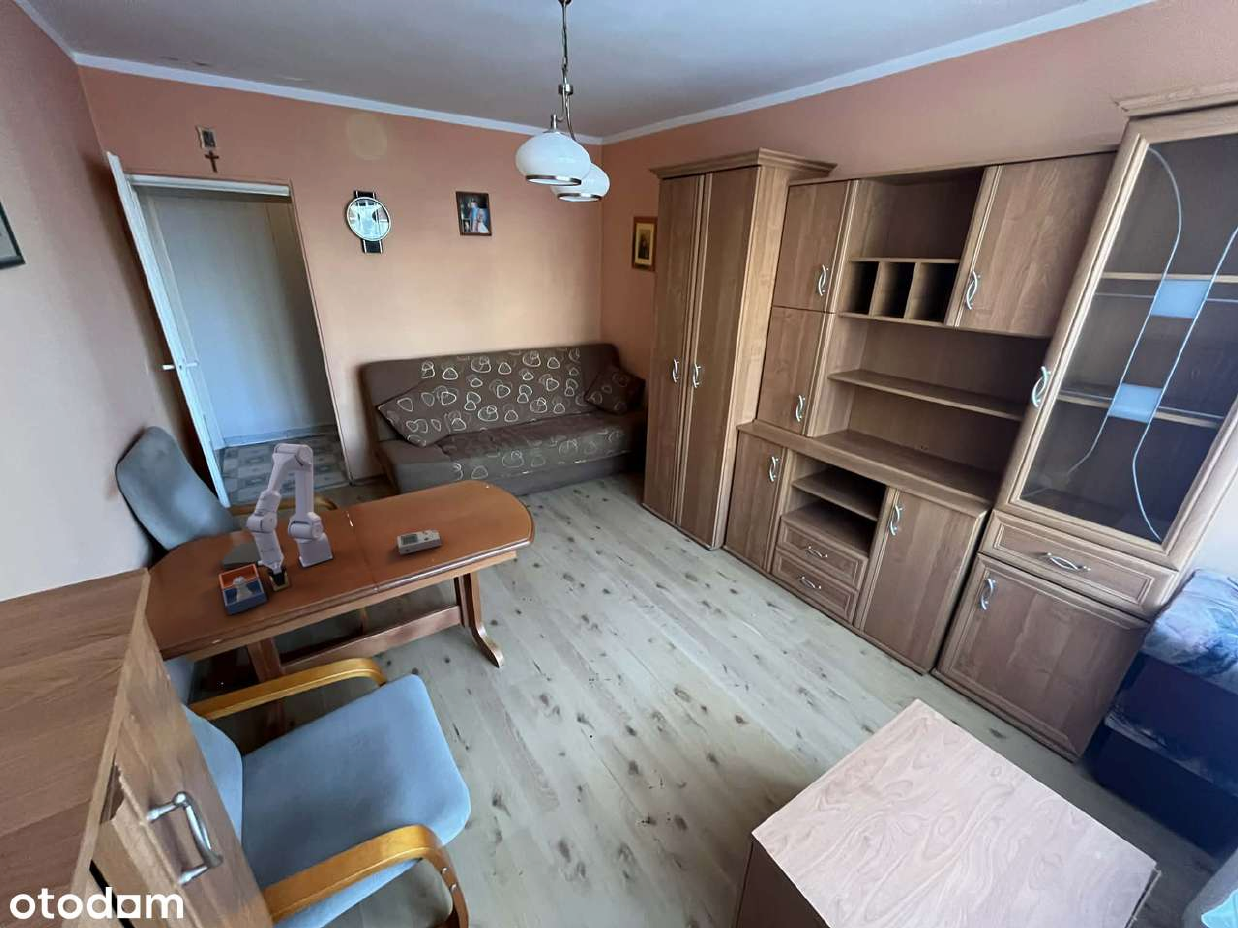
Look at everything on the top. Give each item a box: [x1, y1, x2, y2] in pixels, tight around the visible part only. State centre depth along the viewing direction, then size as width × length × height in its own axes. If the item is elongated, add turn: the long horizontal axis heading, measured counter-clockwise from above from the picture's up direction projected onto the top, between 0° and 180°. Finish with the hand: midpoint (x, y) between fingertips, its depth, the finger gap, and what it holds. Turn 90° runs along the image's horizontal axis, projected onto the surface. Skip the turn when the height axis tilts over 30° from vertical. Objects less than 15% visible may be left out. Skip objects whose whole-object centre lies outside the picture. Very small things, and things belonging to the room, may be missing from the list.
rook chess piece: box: [233, 577, 254, 601], centre depth 161 cm, size 4×4×8 cm
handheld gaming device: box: [396, 529, 442, 555], centre depth 193 cm, size 9×15×4 cm, turn 116°
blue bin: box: [221, 577, 269, 616], centre depth 162 cm, size 10×10×4 cm
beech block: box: [268, 571, 291, 592], centre depth 169 cm, size 4×4×4 cm
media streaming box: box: [221, 540, 262, 570], centre depth 185 cm, size 15×15×3 cm
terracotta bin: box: [218, 564, 260, 591], centre depth 170 cm, size 10×10×4 cm
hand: (279, 581), depth 170 cm, fingers closed on beech block, 4 cm apart
